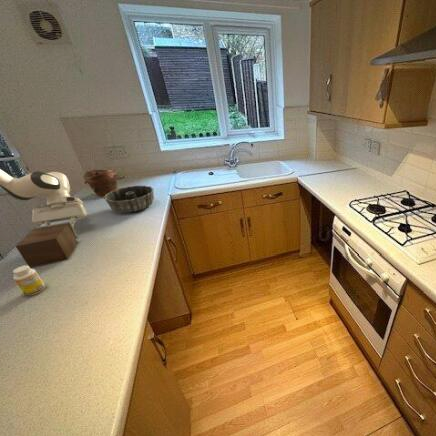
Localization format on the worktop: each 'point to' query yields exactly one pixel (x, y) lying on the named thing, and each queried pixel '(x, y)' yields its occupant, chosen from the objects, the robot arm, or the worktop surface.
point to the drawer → (64, 223)
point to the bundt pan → (130, 198)
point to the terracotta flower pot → (101, 181)
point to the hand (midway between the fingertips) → (61, 228)
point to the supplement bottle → (28, 280)
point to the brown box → (47, 245)
